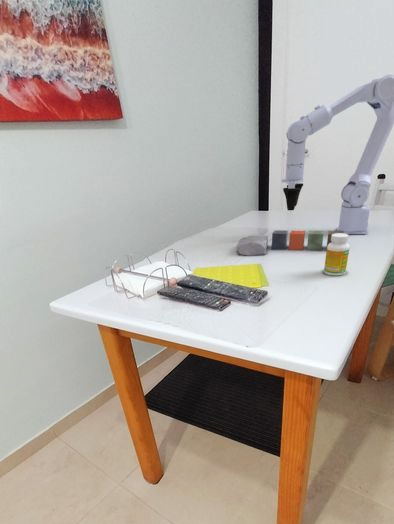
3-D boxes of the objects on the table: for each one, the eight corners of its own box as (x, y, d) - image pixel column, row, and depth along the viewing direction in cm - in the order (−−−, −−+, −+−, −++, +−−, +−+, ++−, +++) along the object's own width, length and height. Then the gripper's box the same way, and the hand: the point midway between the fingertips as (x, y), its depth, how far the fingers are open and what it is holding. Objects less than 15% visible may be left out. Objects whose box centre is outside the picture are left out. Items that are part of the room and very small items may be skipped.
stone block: (237, 261, 109) (268, 254, 105) (234, 246, 106) (265, 239, 103) (241, 251, 119) (269, 245, 115) (238, 237, 116) (267, 231, 113)
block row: (341, 246, 108) (343, 230, 105) (341, 250, 104) (343, 234, 101) (273, 245, 115) (274, 230, 112) (271, 249, 111) (272, 233, 108)
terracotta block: (303, 246, 111) (305, 230, 109) (302, 249, 108) (304, 234, 105) (290, 245, 113) (291, 230, 110) (288, 249, 109) (289, 233, 107)
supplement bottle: (342, 277, 86) (349, 238, 81) (321, 274, 89) (326, 236, 83) (347, 270, 90) (353, 233, 85) (326, 268, 92) (331, 231, 87)
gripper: (285, 163, 119) (283, 204, 126) (279, 167, 108) (277, 212, 115) (306, 162, 117) (302, 204, 124) (302, 166, 105) (298, 212, 112)
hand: (292, 208), depth 119 cm, fingers open, 7 cm apart
